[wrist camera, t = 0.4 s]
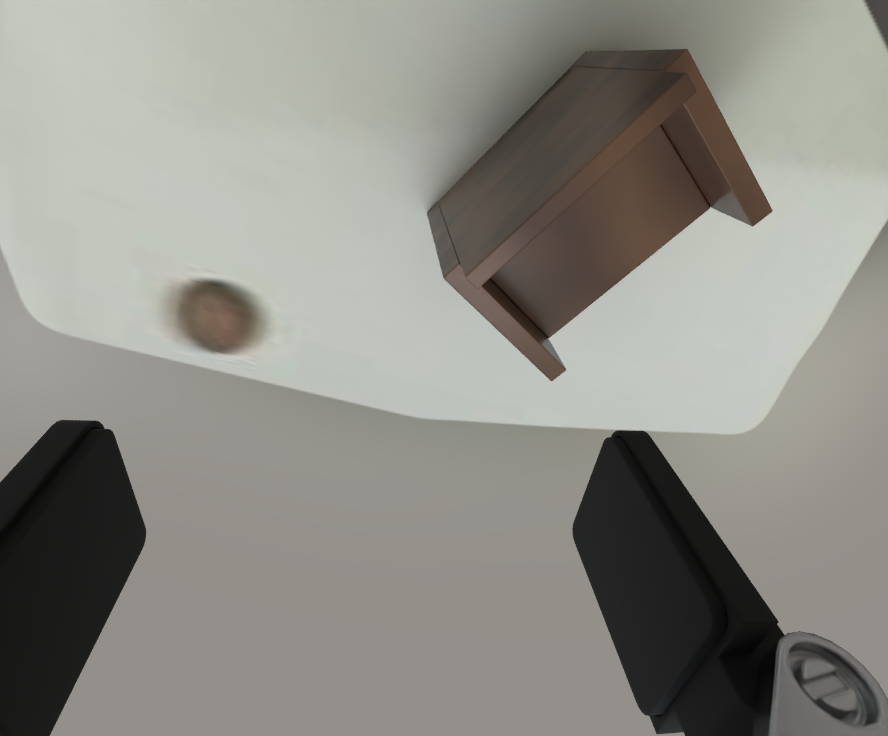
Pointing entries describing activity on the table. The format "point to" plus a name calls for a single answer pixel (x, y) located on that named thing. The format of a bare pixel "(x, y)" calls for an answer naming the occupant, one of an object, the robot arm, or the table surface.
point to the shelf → (588, 192)
